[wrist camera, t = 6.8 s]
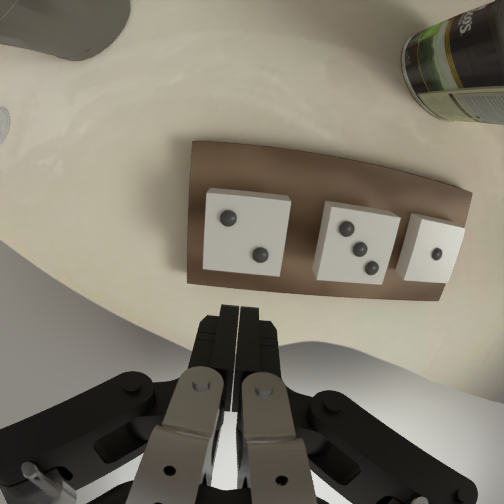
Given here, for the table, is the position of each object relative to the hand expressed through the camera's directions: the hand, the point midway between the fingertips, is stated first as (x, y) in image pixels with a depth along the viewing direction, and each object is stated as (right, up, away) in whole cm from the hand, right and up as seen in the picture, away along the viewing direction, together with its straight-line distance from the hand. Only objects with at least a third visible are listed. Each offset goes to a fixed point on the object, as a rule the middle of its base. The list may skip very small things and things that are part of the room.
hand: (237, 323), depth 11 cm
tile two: (0, +5, +11) cm, 12 cm away
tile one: (+18, +4, +13) cm, 22 cm away
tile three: (+9, +4, +12) cm, 15 cm away
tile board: (+9, +5, +15) cm, 18 cm away
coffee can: (+20, +21, +8) cm, 30 cm away
